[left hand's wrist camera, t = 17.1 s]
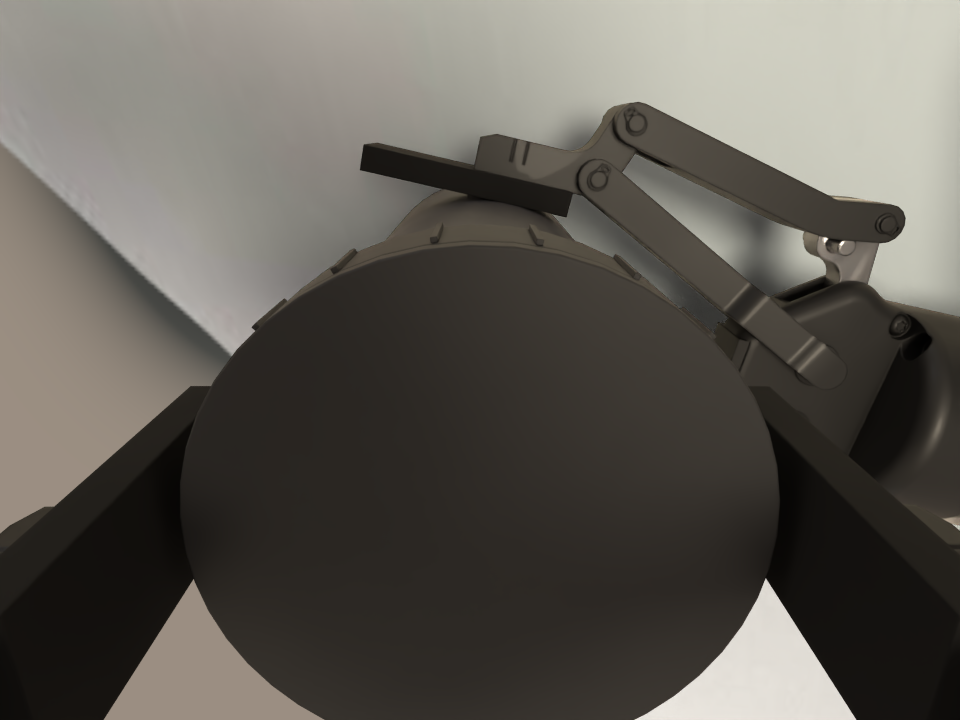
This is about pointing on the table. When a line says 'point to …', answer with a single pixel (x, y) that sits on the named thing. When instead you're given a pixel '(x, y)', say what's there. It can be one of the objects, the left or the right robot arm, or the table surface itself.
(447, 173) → the right robot arm
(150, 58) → the table surface
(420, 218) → the jar
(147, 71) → the table surface
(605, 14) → the table surface
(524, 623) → the lid
